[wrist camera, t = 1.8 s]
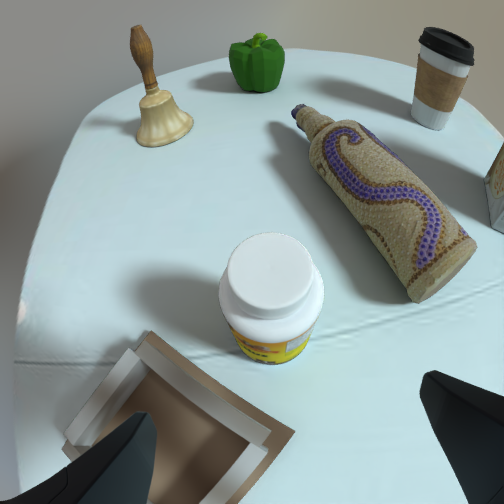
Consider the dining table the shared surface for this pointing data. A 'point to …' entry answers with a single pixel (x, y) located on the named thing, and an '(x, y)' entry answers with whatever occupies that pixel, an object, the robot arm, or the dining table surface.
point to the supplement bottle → (271, 297)
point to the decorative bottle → (388, 203)
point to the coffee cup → (440, 76)
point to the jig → (182, 426)
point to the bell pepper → (257, 63)
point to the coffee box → (496, 191)
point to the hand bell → (156, 99)
